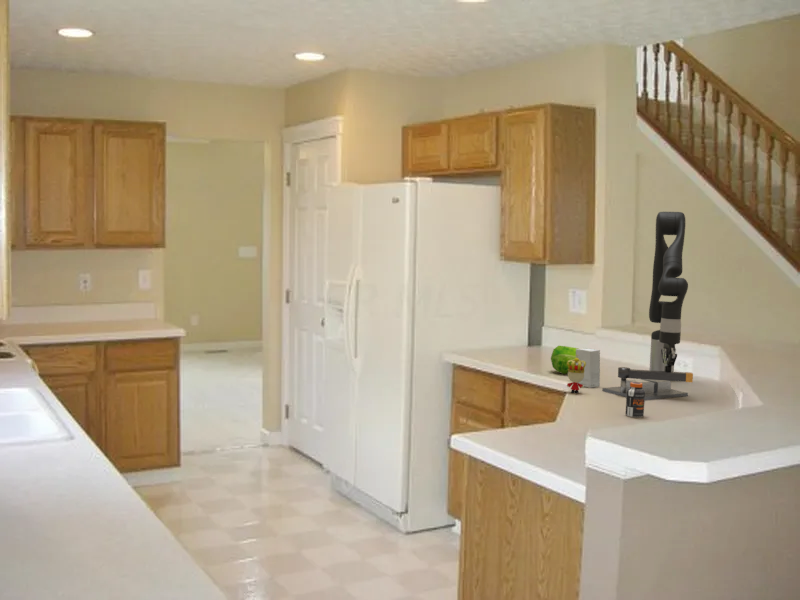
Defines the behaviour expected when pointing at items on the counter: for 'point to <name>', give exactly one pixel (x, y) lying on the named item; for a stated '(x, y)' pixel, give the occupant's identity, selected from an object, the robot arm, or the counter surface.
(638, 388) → the pill bottle
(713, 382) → the counter surface
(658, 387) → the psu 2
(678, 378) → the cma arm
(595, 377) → the skincare box
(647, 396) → the tray
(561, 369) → the lettuce
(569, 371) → the toy
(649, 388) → the block
